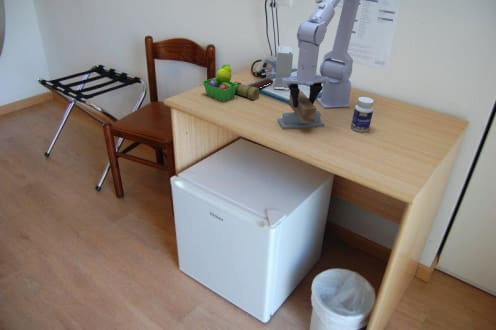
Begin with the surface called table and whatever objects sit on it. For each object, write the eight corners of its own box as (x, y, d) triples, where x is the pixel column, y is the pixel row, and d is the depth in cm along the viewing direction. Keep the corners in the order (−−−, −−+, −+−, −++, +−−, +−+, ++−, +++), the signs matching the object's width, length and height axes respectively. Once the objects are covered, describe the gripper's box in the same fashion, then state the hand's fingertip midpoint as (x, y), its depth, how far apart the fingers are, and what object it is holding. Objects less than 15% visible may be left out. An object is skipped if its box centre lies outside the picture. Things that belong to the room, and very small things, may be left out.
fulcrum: (317, 118, 135) (319, 108, 133) (324, 126, 130) (325, 116, 128) (277, 120, 132) (278, 110, 131) (282, 129, 128) (283, 118, 126)
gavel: (263, 71, 163) (284, 77, 158) (262, 82, 165) (282, 89, 161) (230, 82, 148) (252, 89, 143) (230, 94, 150) (251, 102, 145)
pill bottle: (356, 133, 127) (362, 104, 122) (347, 125, 132) (353, 96, 126) (372, 131, 128) (378, 102, 123) (363, 123, 133) (369, 95, 128)
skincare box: (274, 82, 162) (277, 45, 154) (290, 83, 162) (293, 46, 154) (274, 90, 155) (276, 51, 147) (289, 91, 155) (293, 52, 147)
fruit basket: (201, 94, 149) (200, 64, 143) (219, 88, 154) (218, 59, 148) (223, 104, 143) (223, 73, 136) (240, 97, 148) (241, 67, 142)
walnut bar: (300, 103, 136) (301, 91, 134) (314, 122, 125) (316, 108, 122) (289, 104, 135) (290, 91, 133) (302, 122, 124) (303, 109, 121)
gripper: (288, 69, 116) (284, 112, 123) (335, 67, 119) (328, 109, 126) (281, 61, 122) (278, 103, 129) (326, 59, 125) (320, 100, 132)
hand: (302, 106), depth 128 cm, fingers open, 5 cm apart
